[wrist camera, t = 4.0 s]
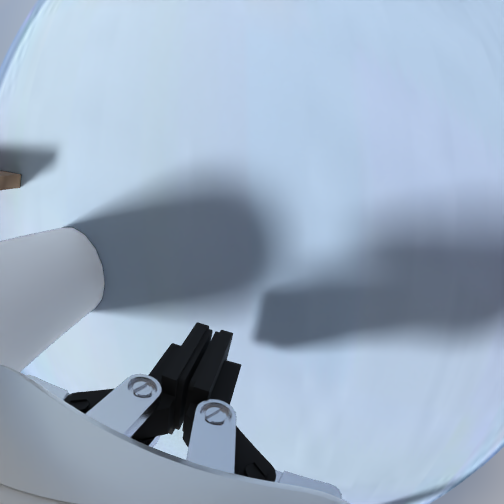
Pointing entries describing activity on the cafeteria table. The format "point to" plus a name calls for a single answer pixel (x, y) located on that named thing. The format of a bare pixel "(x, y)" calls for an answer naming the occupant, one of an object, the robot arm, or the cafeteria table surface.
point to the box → (9, 180)
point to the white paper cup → (44, 291)
